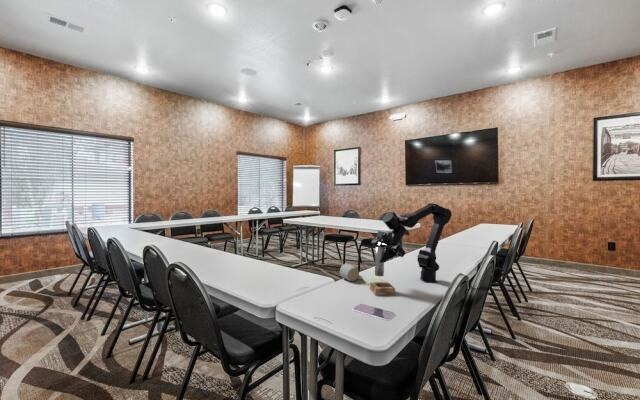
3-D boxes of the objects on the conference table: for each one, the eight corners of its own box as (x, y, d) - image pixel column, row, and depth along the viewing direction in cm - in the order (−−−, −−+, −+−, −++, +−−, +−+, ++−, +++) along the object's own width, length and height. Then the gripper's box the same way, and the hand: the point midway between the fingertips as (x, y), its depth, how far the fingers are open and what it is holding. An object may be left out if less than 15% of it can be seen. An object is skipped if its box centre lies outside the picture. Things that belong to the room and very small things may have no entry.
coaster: (379, 278, 153) (379, 277, 153) (386, 284, 143) (386, 283, 143) (361, 278, 152) (361, 277, 151) (366, 284, 142) (367, 283, 142)
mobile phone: (360, 302, 117) (396, 312, 108) (360, 305, 117) (396, 314, 108) (351, 308, 111) (387, 319, 102) (351, 311, 111) (387, 322, 102)
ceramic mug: (348, 282, 144) (348, 267, 144) (339, 278, 151) (339, 263, 151) (365, 280, 149) (365, 265, 149) (355, 276, 156) (356, 262, 156)
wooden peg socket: (387, 288, 137) (387, 281, 137) (394, 294, 128) (394, 288, 128) (369, 288, 136) (369, 282, 136) (375, 295, 127) (375, 288, 127)
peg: (382, 273, 137) (382, 246, 137) (384, 276, 133) (385, 248, 133) (374, 273, 137) (374, 246, 137) (376, 276, 133) (376, 248, 133)
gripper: (374, 222, 144) (355, 246, 140) (400, 227, 128) (380, 254, 123) (386, 237, 148) (368, 261, 144) (413, 243, 132) (394, 270, 127)
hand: (377, 261), depth 134 cm, fingers closed on peg, 4 cm apart
